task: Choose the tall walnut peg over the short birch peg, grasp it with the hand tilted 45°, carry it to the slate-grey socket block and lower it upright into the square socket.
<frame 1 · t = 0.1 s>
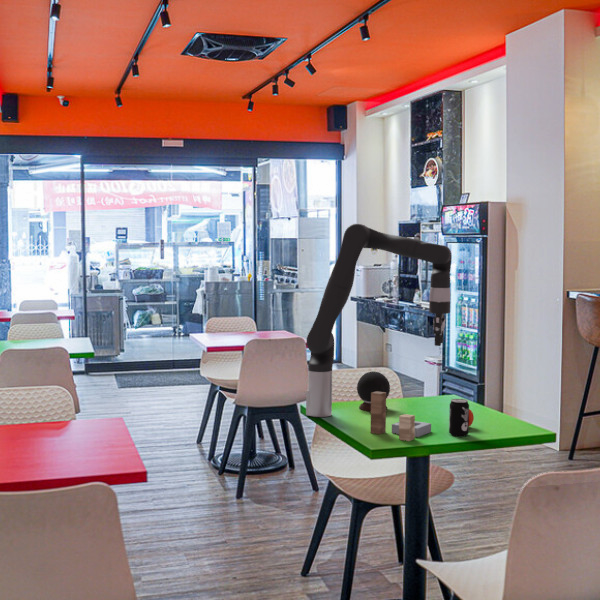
hand: (438, 344, 289), 29 cm above the table, tool pointing down, fingers open, 8 cm apart
beverage can: (458, 435, 273), on the table
birch peg: (406, 439, 266), on the table
apple: (461, 428, 285), on the table
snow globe: (373, 409, 317), on the table
walnut peg: (378, 432, 275), on the table
socket block: (411, 432, 276), on the table
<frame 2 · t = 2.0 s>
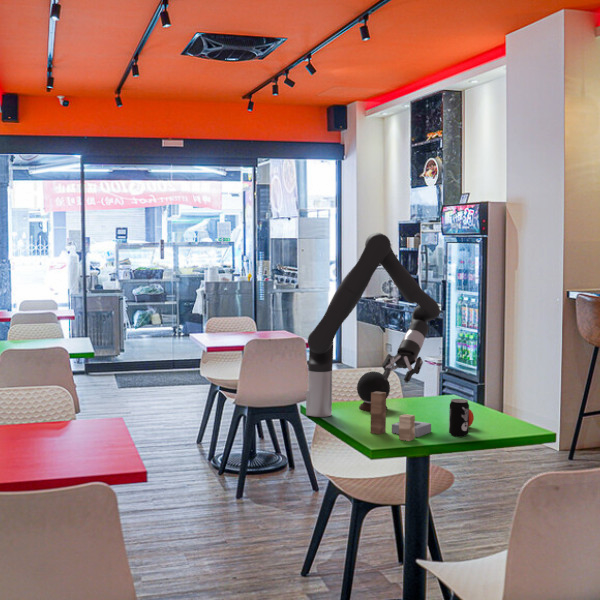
hand: (395, 380, 283), 17 cm above the table, tool tilted 45°, fingers open, 8 cm apart
nothing on the table moved.
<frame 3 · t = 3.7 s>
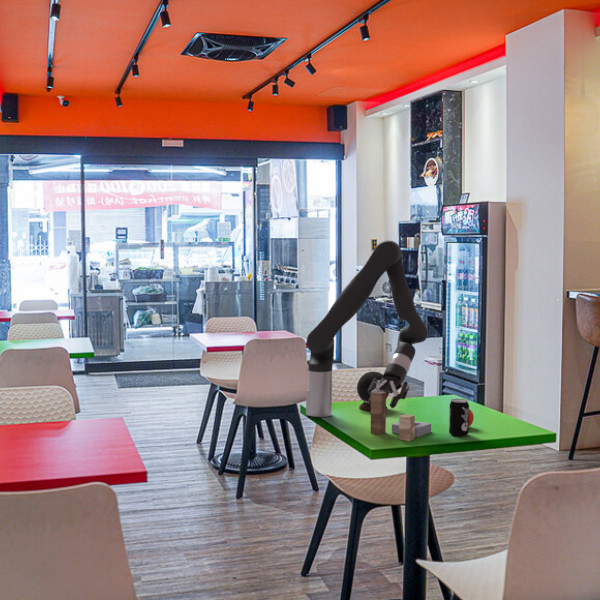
hand: (380, 405, 276), 9 cm above the table, tool tilted 45°, fingers open, 8 cm apart
nothing on the table moved.
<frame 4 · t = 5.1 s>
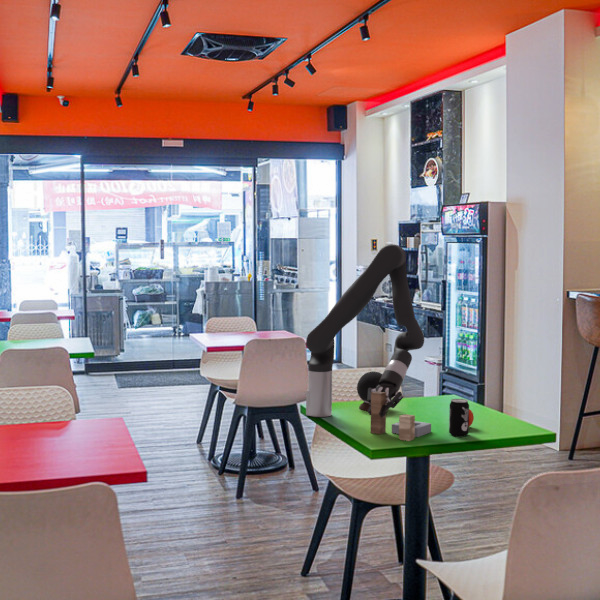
hand: (375, 414, 273), 7 cm above the table, tool tilted 45°, fingers closed on walnut peg, 3 cm apart
walnut peg: (378, 432, 275), on the table, touching gripper
everything else where it was.
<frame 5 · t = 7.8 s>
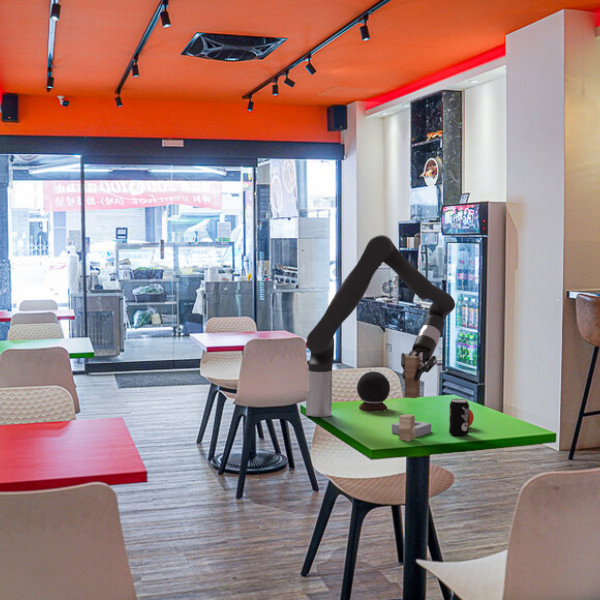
hand: (409, 378, 273), 19 cm above the table, tool tilted 45°, fingers closed on walnut peg, 3 cm apart
walnut peg: (412, 396, 275), point 12 cm above the table, touching gripper
everything else where it was.
when the fingers open (8 cm above the table, at t = 10.5 s): walnut peg drops 2 cm, resting in socket block.
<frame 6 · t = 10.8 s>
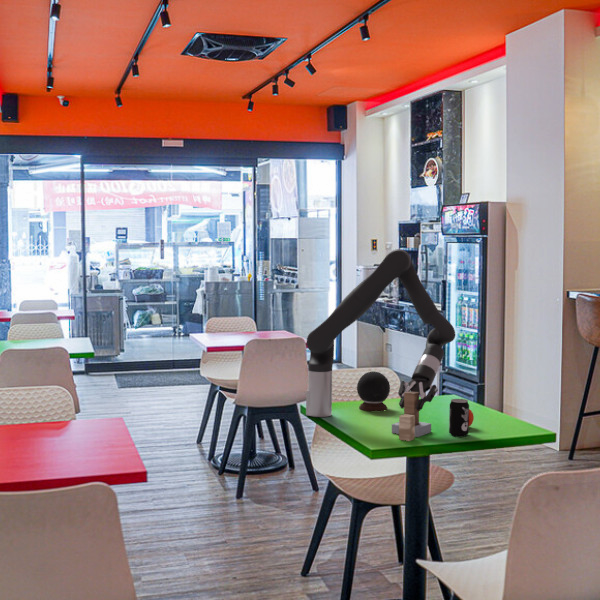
hand: (409, 408, 274), 9 cm above the table, tool tilted 45°, fingers open, 6 cm apart
walnut peg: (411, 432, 276), resting in socket block
everything else where it was.
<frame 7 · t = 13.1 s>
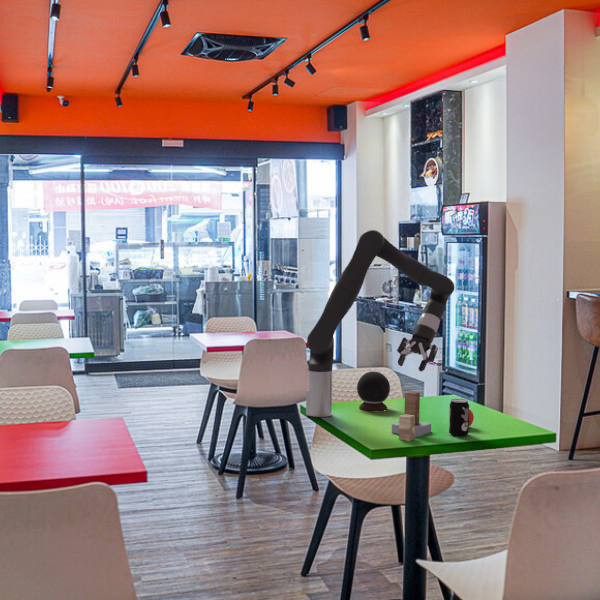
hand: (410, 368, 284), 21 cm above the table, tool tilted 30°, fingers open, 8 cm apart
nothing on the table moved.
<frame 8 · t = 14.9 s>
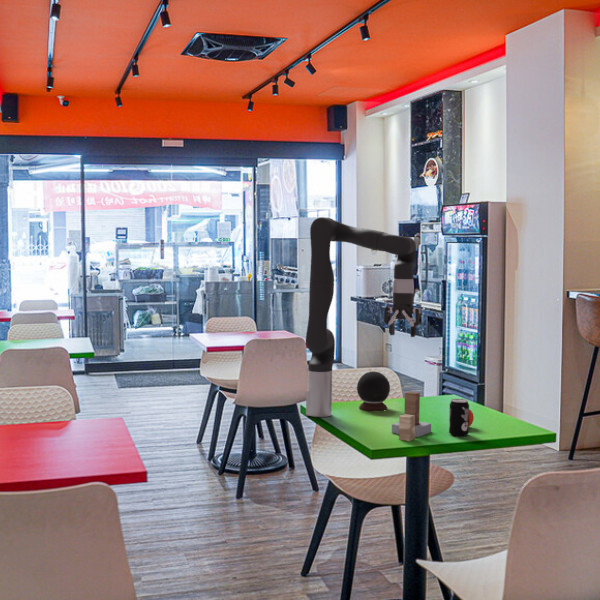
hand: (402, 335, 289), 32 cm above the table, tool pointing down, fingers open, 8 cm apart
nothing on the table moved.
at the end: walnut peg 0.0 cm off-centre on the socket block, point 0.0 cm above the socket block's base; walnut peg tilted 0°; the gripper is holding nothing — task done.
